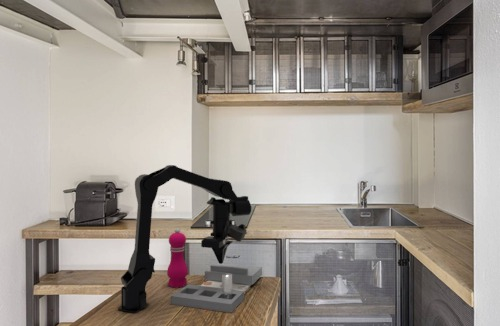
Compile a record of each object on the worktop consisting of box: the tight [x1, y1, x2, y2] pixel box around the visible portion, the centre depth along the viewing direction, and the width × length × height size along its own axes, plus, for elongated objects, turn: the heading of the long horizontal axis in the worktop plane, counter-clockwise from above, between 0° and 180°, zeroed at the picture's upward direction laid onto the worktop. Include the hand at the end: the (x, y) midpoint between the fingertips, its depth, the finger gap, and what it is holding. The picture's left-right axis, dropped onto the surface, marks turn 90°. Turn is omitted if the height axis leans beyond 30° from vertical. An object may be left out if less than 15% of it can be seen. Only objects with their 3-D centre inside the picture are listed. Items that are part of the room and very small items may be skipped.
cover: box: [204, 262, 263, 286], centre depth 132 cm, size 18×11×5 cm, turn 71°
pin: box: [222, 273, 232, 299], centre depth 110 cm, size 3×3×9 cm
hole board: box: [170, 283, 245, 314], centre depth 112 cm, size 20×11×2 cm, turn 71°
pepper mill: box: [166, 227, 189, 288], centre depth 127 cm, size 7×7×20 cm
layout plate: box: [200, 280, 252, 293], centre depth 124 cm, size 16×9×1 cm, turn 71°
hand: (221, 263), depth 122 cm, fingers closed
